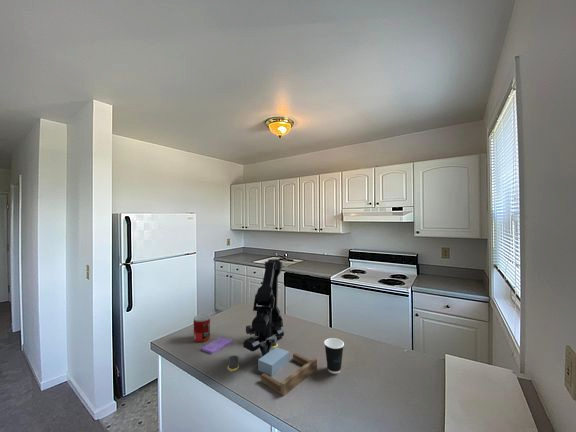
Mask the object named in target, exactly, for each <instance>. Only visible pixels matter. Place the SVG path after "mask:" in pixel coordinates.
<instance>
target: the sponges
mask: <svg viewBox="0 0 576 432" xmlns="http://www.w3.org/2000/svg"><path fill="white" fill-rule="evenodd" d="M232 342H233V341H232V339H230V338H225V337H223V336H220V337H218V338H216V339H215V340H212V341H211V342H210V343H207V344H206V345H203V346H202V347H201V351H203V352H204V353H208V354H211V355H214V354H216V352H218V351H221V350H222V349H223V348H225V347H226V346H228V345H230V344H231V343H232Z"/></svg>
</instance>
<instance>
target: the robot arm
mask: <svg viewBox="0 0 576 432" xmlns="http://www.w3.org/2000/svg"><path fill="white" fill-rule="evenodd" d="M282 269H283V261H281V259H268V260H267V261H264V273H263V279H262V283H261V286H260V287H258V289H257V291H256V294H255V296H254V302H253V309H252V311H253V312H256V314H255V316H254V318H253V320H252V322H251V324H250V325H246V326H245V333H246V335H250V337H249V338H246V339H244V341H243V346H242V347H243V348H244V349H246V350H249V351H250V352H256V351H257V350H260V353H261V355H262V356H261V357H263V356H264V355H266V354H267V353H268V352H270V351H271V350H272V348H271V347H272V345H273V343H274V342H275V340H273V338H272V337H273V336H276V337H277V341H279V340H281V339H282V338H283V337H284V335H285V330H284V329H283V327H284V321H283V317H282V315H281V311H280V308H279V306H278V291H279V290H278V289H279V287H278V285H279V276H280V274H281V272H282ZM251 335H254V337H256V338H254V337H251Z"/></svg>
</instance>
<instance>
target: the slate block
mask: <svg viewBox="0 0 576 432" xmlns="http://www.w3.org/2000/svg"><path fill="white" fill-rule="evenodd" d="M289 362H290V351H288V350H286V349H283V348H280V347H279V346H277V347H275V348H272V349H270V351H269V352H268V353H267V354H266V355H264V356H261V357H260V358H258V360H257V363H258V364H257V366H258V368H257V370H258V371H259V372H262V373H265V374H266V375H268V376H270V377H273V376H274V375H275V374H277V372H279V371H280V370H281V369H282V368H283V367H284V366H286V365H287V364H289Z"/></svg>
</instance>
